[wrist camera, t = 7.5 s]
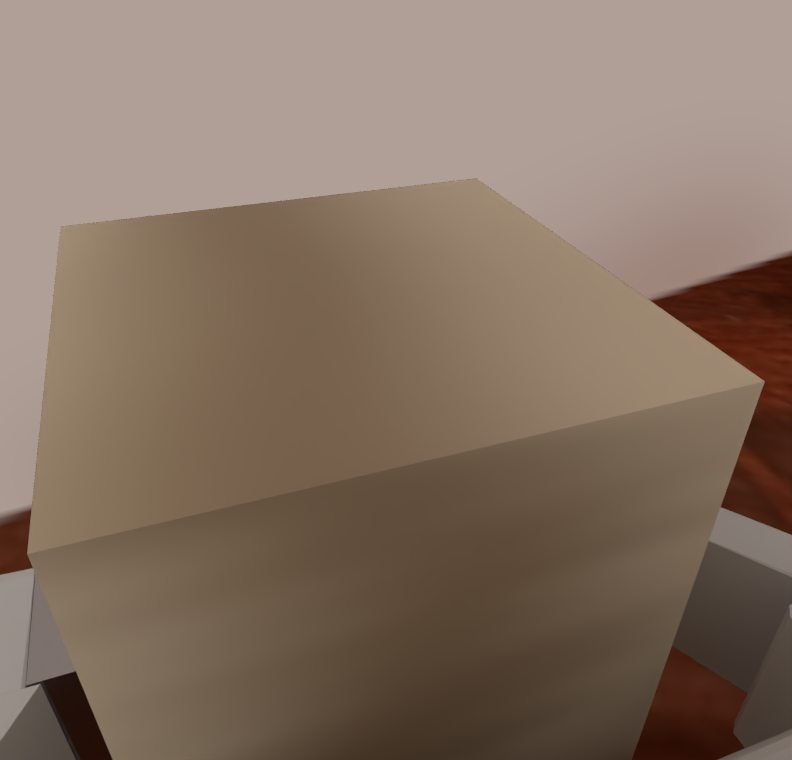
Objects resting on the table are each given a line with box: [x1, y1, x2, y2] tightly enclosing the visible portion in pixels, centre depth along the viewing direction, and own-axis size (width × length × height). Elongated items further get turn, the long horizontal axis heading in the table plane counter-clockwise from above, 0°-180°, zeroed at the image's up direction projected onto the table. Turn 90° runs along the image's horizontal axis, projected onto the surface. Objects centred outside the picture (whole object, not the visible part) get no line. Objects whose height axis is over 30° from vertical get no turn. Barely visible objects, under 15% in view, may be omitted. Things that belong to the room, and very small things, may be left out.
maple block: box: [27, 179, 765, 760], centre depth 9 cm, size 5×5×9 cm
